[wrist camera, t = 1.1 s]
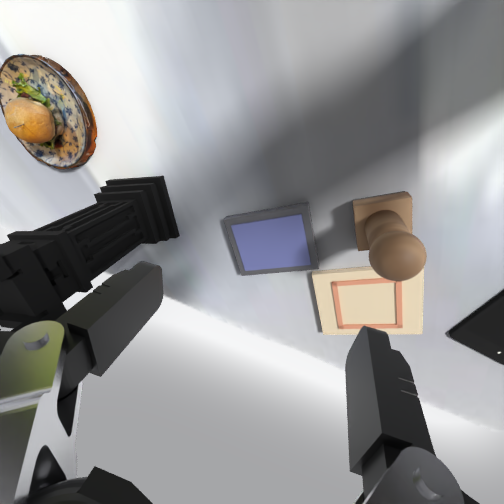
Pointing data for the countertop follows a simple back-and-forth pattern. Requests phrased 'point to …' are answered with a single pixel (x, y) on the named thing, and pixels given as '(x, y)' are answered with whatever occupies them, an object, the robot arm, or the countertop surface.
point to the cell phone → (484, 329)
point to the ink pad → (273, 240)
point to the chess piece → (80, 248)
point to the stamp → (389, 235)
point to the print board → (368, 301)
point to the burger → (47, 111)
